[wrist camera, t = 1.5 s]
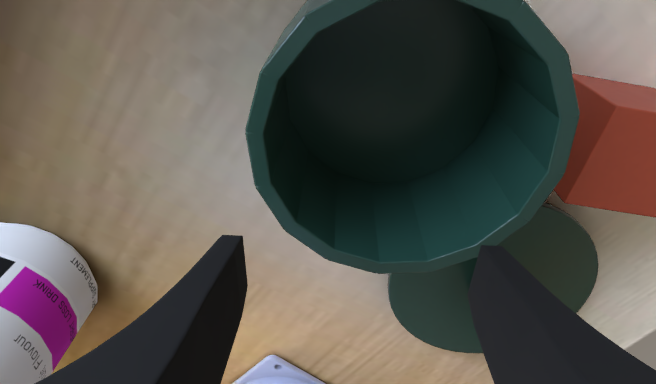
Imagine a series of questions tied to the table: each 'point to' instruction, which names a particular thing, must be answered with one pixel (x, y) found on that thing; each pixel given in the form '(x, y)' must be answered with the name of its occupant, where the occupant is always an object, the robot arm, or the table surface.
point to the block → (612, 148)
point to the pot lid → (454, 281)
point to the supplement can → (39, 301)
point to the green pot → (410, 128)
